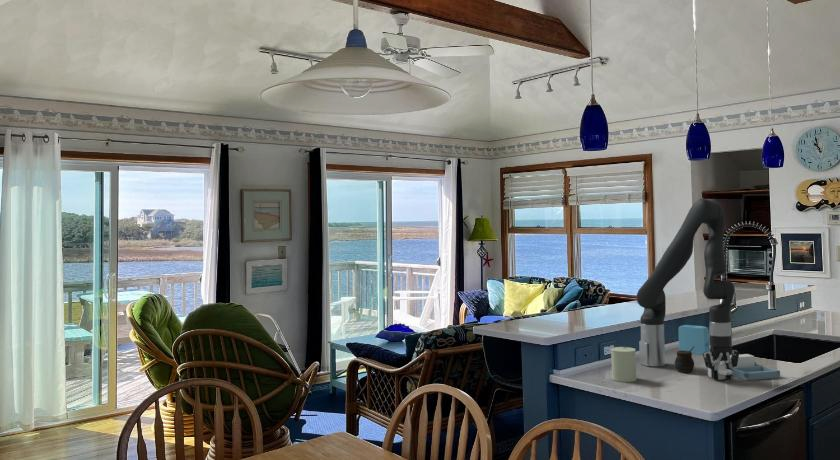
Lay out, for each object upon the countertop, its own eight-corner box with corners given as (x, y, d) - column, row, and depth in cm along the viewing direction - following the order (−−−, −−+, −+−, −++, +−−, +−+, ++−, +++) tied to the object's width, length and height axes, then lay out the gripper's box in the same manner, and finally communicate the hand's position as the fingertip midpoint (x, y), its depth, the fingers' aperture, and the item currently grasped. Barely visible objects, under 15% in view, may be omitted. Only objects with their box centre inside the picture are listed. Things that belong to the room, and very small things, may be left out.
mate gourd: (671, 370, 255) (670, 345, 255) (689, 369, 256) (688, 344, 256) (680, 374, 248) (679, 348, 248) (698, 373, 248) (698, 347, 248)
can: (637, 377, 245) (636, 346, 245) (635, 382, 237) (634, 350, 237) (613, 375, 249) (612, 345, 249) (610, 381, 241) (609, 349, 241)
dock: (746, 380, 235) (745, 364, 235) (716, 369, 253) (715, 354, 253) (780, 377, 237) (779, 361, 237) (747, 367, 255) (747, 352, 255)
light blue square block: (709, 353, 283) (708, 326, 283) (705, 355, 280) (704, 328, 280) (683, 350, 292) (682, 324, 292) (678, 351, 289) (678, 325, 289)
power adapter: (738, 382, 232) (737, 366, 232) (727, 384, 231) (726, 368, 231) (717, 376, 243) (716, 360, 243) (706, 377, 241) (705, 361, 241)
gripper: (731, 330, 241) (732, 375, 242) (696, 333, 239) (698, 378, 239) (744, 334, 234) (745, 379, 234) (709, 336, 232) (710, 382, 232)
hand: (721, 378), depth 237 cm, fingers closed on power adapter, 5 cm apart
